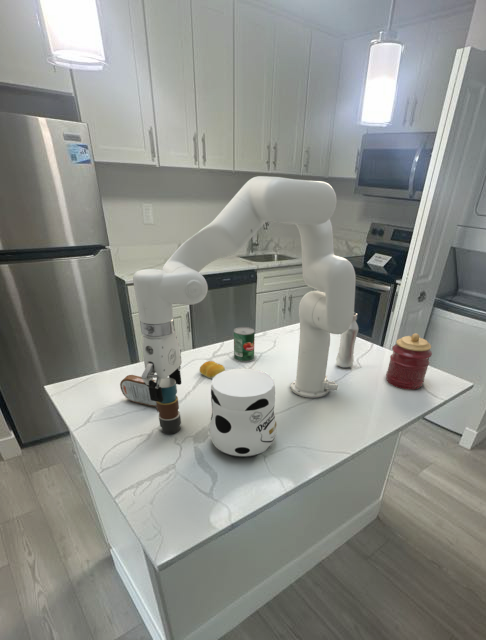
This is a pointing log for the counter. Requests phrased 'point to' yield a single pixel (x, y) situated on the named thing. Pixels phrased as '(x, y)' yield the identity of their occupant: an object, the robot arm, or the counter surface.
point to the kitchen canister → (409, 362)
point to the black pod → (170, 424)
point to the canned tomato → (244, 344)
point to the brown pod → (168, 409)
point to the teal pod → (168, 389)
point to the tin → (136, 390)
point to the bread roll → (211, 369)
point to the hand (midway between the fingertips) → (166, 391)
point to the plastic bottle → (347, 345)
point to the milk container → (243, 412)
